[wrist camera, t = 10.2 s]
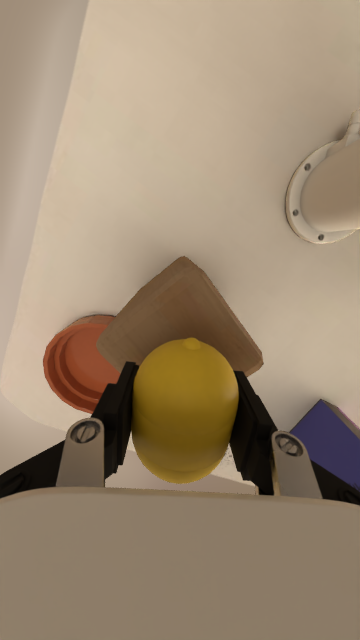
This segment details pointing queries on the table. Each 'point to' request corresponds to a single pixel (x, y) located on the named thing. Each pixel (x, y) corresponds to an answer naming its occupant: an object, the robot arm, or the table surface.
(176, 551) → the robot arm
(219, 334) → the wooden block
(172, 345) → the lemon
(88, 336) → the fruit bowl
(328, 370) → the table surface
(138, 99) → the table surface
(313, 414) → the purple book
